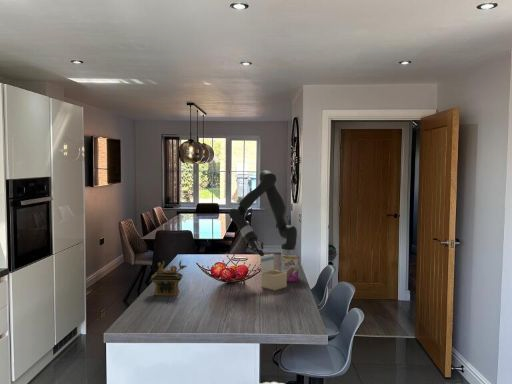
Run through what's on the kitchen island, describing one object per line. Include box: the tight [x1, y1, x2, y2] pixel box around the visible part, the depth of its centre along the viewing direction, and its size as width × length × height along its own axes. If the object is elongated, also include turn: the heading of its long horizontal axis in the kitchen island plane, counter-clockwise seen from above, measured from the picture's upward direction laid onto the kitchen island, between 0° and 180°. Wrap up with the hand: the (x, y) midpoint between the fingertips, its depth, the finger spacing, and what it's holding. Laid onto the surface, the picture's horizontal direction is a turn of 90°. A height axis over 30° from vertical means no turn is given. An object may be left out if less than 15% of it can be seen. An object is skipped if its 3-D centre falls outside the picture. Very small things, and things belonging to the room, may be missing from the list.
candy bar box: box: [280, 254, 300, 283], centre depth 304 cm, size 11×5×16 cm, turn 84°
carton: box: [261, 269, 288, 291], centre depth 287 cm, size 12×10×9 cm
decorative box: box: [150, 260, 188, 297], centre depth 267 cm, size 20×10×20 cm, turn 91°
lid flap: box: [260, 253, 275, 274], centre depth 290 cm, size 12×10×1 cm
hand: (262, 256), depth 292 cm, fingers closed
